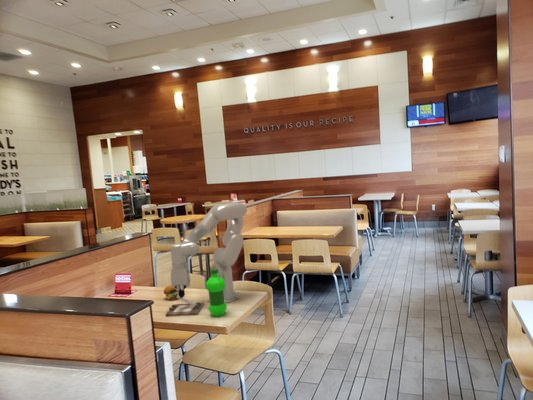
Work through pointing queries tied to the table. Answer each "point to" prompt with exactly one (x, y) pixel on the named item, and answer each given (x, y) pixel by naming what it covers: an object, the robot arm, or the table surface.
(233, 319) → the table surface
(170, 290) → the cheeseburger
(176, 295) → the hold down bar
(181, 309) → the ticket board
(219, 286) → the plastic bottle
